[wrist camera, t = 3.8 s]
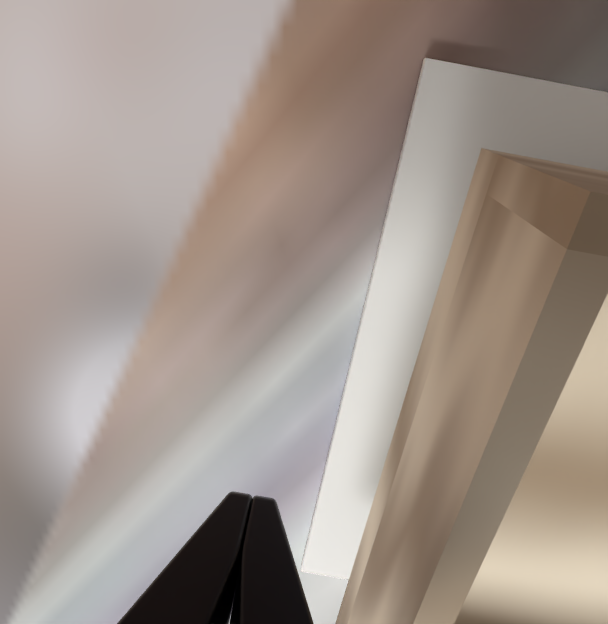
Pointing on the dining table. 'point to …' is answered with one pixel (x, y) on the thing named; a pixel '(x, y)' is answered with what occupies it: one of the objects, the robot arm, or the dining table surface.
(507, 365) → the beige open tray
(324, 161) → the dining table surface
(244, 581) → the robot arm
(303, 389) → the dining table surface
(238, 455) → the dining table surface
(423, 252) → the track board
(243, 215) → the dining table surface
